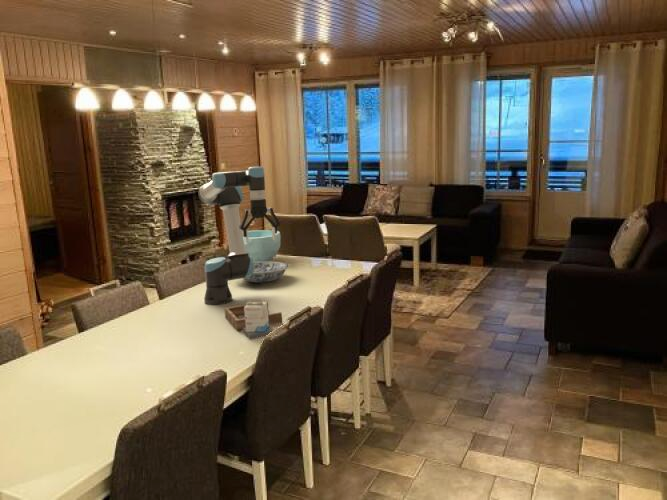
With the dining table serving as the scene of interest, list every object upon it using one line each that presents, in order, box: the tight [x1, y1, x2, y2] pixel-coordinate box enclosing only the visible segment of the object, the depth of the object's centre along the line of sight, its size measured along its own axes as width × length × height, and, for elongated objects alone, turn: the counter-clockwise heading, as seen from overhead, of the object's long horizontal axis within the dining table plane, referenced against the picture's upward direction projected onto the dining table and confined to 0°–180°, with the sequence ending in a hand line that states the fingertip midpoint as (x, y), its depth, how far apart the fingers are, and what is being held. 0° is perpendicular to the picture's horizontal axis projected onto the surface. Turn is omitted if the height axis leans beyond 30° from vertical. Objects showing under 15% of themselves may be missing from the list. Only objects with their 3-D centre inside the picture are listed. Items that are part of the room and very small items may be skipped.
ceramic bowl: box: [242, 260, 290, 283], centre depth 350 cm, size 34×34×10 cm
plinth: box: [242, 325, 275, 340], centre depth 257 cm, size 12×12×2 cm
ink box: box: [244, 301, 269, 332], centre depth 255 cm, size 9×8×13 cm
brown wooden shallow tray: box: [224, 300, 283, 332], centre depth 275 cm, size 23×22×5 cm
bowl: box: [242, 229, 282, 262], centre depth 395 cm, size 35×35×22 cm
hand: (261, 241), depth 279 cm, fingers open, 13 cm apart
